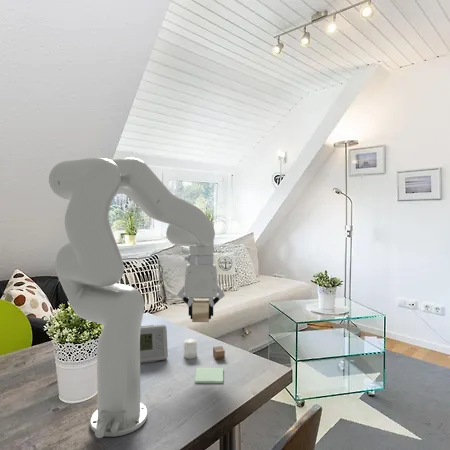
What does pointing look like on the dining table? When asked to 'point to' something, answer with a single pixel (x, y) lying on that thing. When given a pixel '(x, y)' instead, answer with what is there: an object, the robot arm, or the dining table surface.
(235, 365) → the dining table surface
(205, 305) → the beech block
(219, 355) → the walnut box
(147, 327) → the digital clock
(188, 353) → the white capsule
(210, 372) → the felt pad
